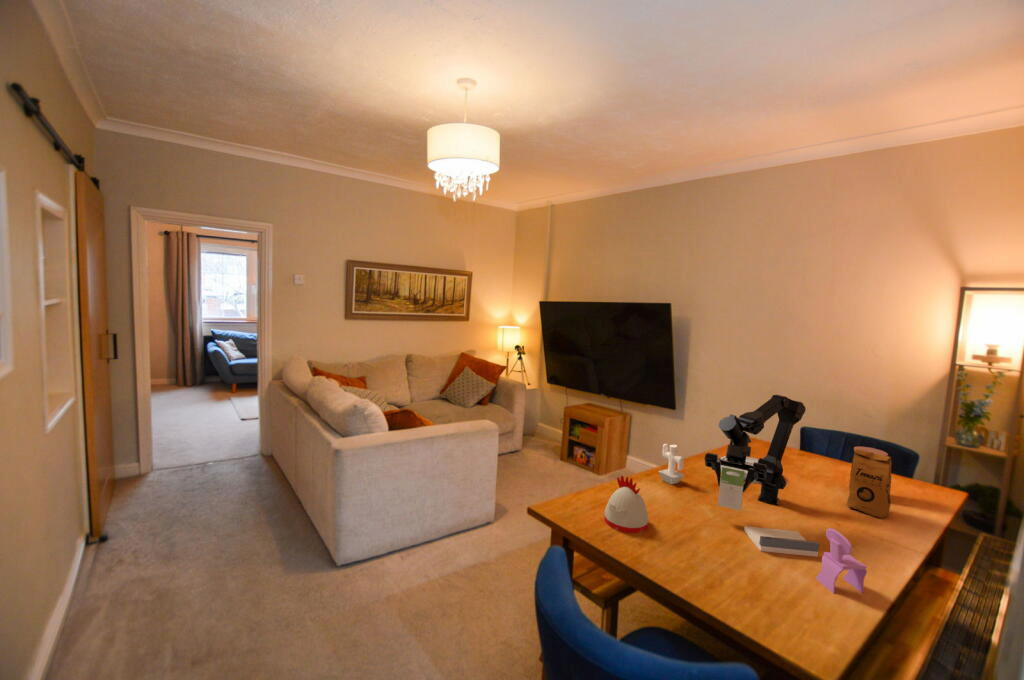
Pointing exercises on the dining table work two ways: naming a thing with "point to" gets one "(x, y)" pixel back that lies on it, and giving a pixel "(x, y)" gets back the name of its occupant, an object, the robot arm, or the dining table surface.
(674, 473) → the figurine
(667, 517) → the dining table surface
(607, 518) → the kitchen timer
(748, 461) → the ashtray
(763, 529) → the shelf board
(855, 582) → the toy chair
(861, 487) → the coffee package
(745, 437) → the robot arm
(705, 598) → the dining table surface
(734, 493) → the ink box
